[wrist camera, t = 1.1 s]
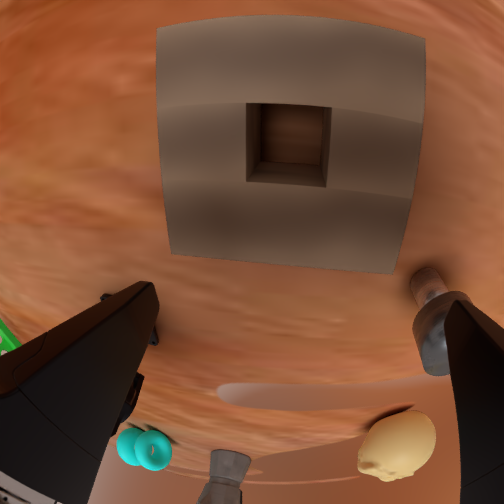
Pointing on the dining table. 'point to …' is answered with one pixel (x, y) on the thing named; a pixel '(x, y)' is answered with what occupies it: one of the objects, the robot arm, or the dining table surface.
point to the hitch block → (289, 174)
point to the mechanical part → (7, 339)
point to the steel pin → (432, 319)
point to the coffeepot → (225, 478)
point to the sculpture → (397, 446)
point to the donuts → (144, 448)
